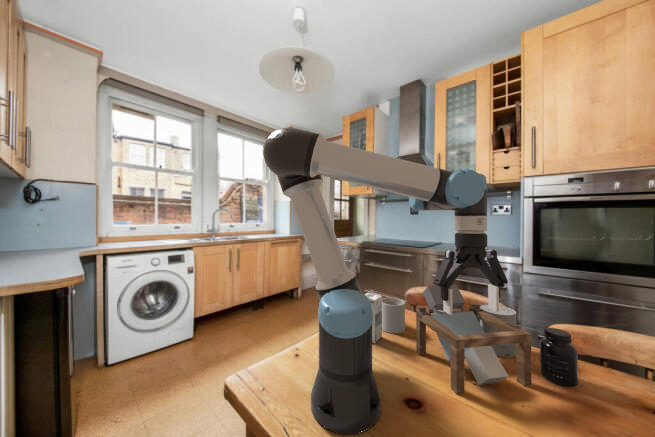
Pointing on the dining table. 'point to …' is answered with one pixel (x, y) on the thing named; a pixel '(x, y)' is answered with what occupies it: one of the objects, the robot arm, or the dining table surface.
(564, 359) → the supplement bottle
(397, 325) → the mug
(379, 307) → the syrup box
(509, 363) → the dining table surface
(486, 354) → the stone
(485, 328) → the short grey cylinder
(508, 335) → the hatch frame
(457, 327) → the trapdoor
